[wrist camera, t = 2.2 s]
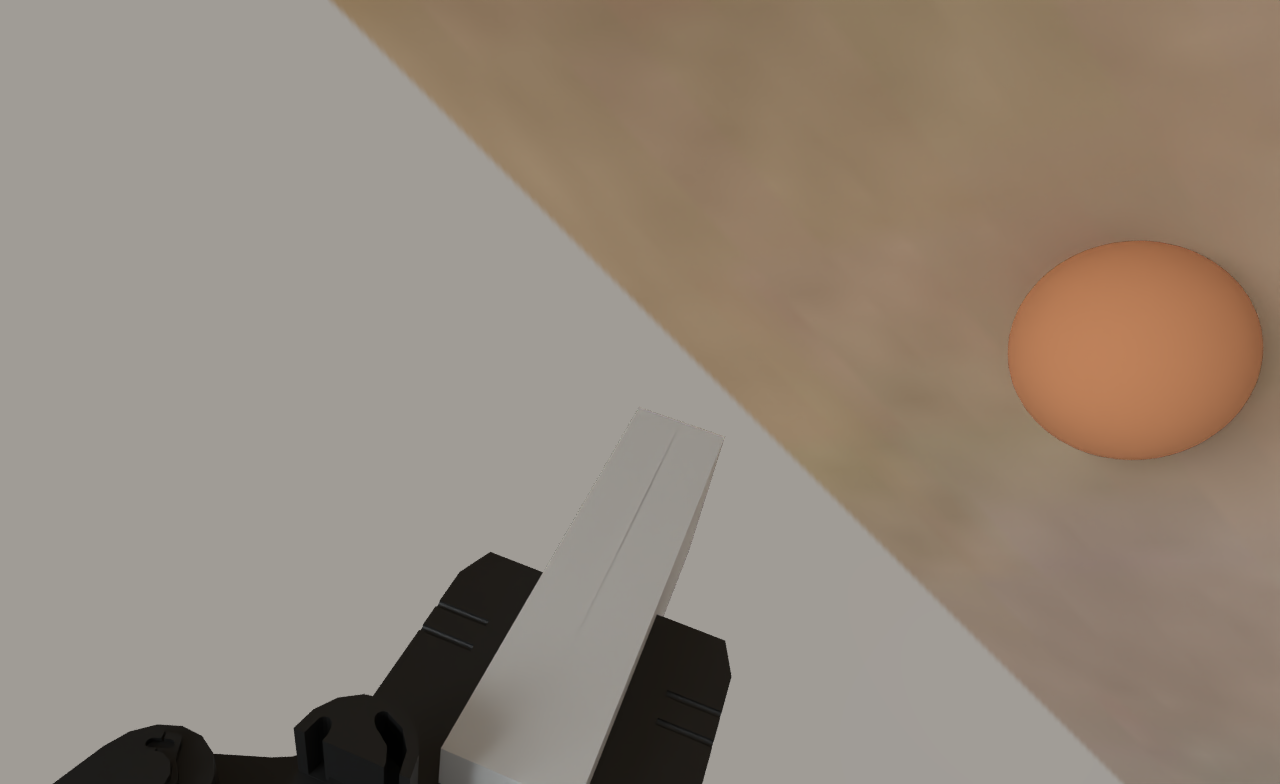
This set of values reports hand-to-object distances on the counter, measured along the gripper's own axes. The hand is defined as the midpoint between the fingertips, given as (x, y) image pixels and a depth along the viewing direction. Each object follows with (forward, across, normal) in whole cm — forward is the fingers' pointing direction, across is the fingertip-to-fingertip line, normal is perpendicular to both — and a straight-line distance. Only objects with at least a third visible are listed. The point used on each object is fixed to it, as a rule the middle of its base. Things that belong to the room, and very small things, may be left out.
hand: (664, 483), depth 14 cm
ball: (+10, +9, 0) cm, 14 cm away
